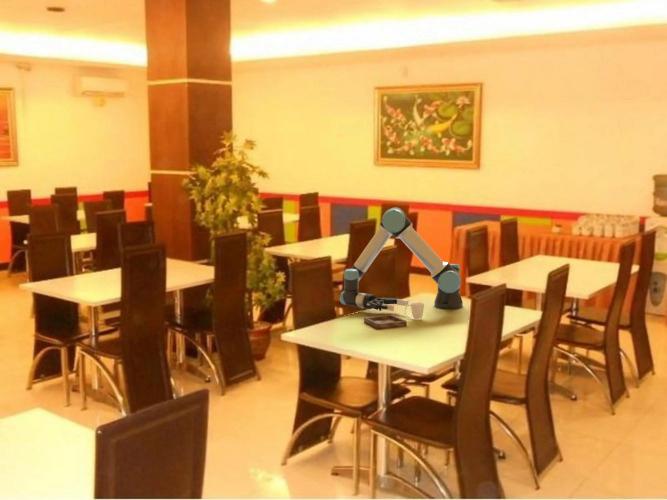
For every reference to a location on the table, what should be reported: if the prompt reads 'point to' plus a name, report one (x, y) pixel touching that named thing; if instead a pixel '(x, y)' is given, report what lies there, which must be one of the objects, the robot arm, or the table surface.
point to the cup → (416, 310)
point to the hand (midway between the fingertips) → (400, 305)
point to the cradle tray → (385, 321)
